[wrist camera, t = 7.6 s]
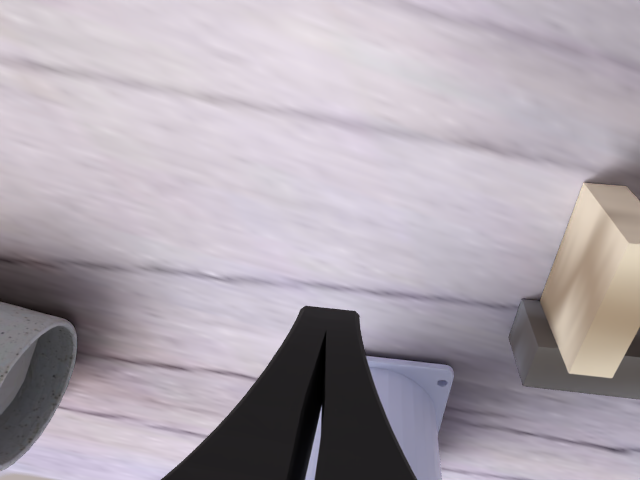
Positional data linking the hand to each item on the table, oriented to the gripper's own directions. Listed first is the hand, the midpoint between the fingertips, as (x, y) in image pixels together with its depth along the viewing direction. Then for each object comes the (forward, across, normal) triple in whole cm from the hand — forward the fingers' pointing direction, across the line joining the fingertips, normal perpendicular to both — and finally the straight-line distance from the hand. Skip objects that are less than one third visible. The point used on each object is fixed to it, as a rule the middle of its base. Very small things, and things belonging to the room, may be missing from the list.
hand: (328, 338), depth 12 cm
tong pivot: (+9, -11, +4) cm, 15 cm away
